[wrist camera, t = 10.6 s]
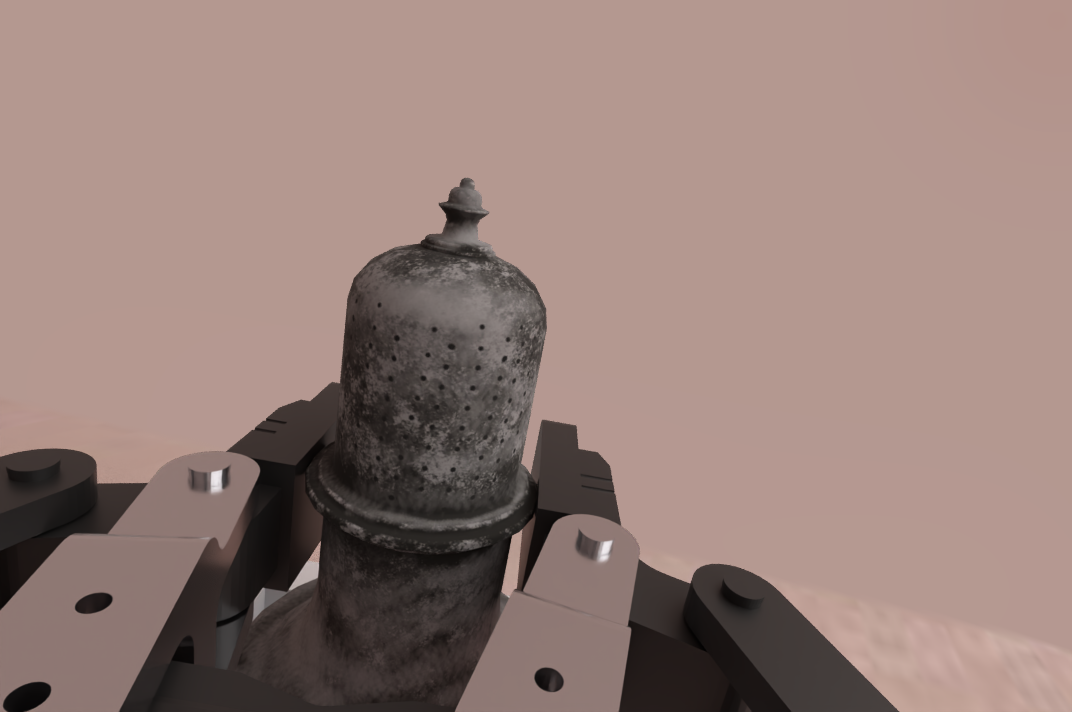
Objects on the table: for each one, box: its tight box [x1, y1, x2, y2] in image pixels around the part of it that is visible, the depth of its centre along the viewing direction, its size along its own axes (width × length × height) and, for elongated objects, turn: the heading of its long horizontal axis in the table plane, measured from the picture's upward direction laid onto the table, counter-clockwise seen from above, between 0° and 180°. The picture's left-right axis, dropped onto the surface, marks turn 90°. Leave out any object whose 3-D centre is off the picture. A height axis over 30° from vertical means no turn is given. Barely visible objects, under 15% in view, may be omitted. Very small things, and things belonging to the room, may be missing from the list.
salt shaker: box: [235, 178, 547, 708], centre depth 10 cm, size 6×6×12 cm
